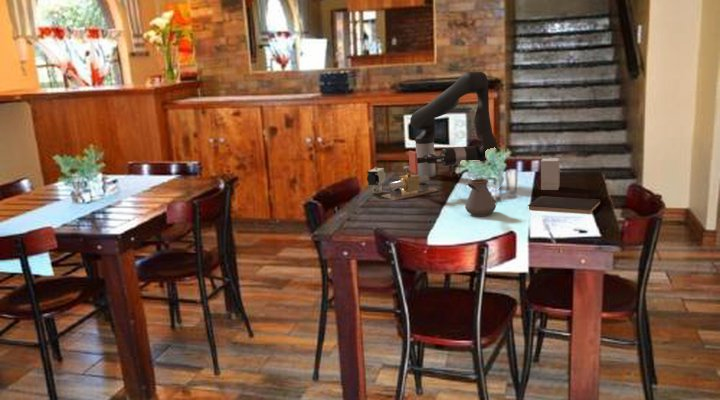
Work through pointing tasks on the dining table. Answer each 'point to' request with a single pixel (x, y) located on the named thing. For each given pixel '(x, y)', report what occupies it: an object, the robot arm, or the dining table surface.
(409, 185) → the valve body
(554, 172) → the supplement box
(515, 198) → the dining table surface
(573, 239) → the dining table surface
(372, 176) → the pneumatic valve
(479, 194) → the coffee pot
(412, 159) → the lever
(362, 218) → the dining table surface
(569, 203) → the hardcover book
